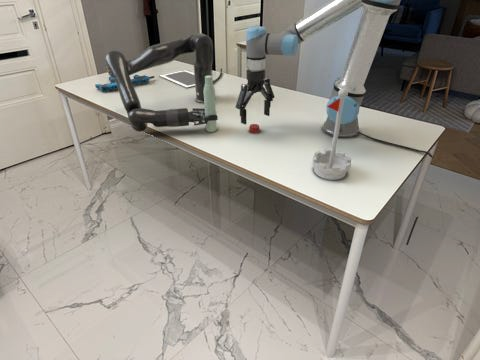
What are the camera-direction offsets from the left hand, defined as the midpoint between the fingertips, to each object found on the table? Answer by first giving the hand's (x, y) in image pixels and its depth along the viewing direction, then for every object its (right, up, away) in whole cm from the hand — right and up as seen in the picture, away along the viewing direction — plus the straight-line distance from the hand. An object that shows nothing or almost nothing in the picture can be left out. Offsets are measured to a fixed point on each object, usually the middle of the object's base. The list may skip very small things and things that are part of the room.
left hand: (216, 115), depth 148 cm
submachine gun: (-60, +31, +60) cm, 90 cm away
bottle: (-3, -6, +3) cm, 7 cm away
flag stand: (+42, -25, -27) cm, 56 cm away
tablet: (-24, +36, +67) cm, 80 cm away
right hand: (+17, -2, -1) cm, 17 cm away
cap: (+17, -5, +1) cm, 17 cm away
